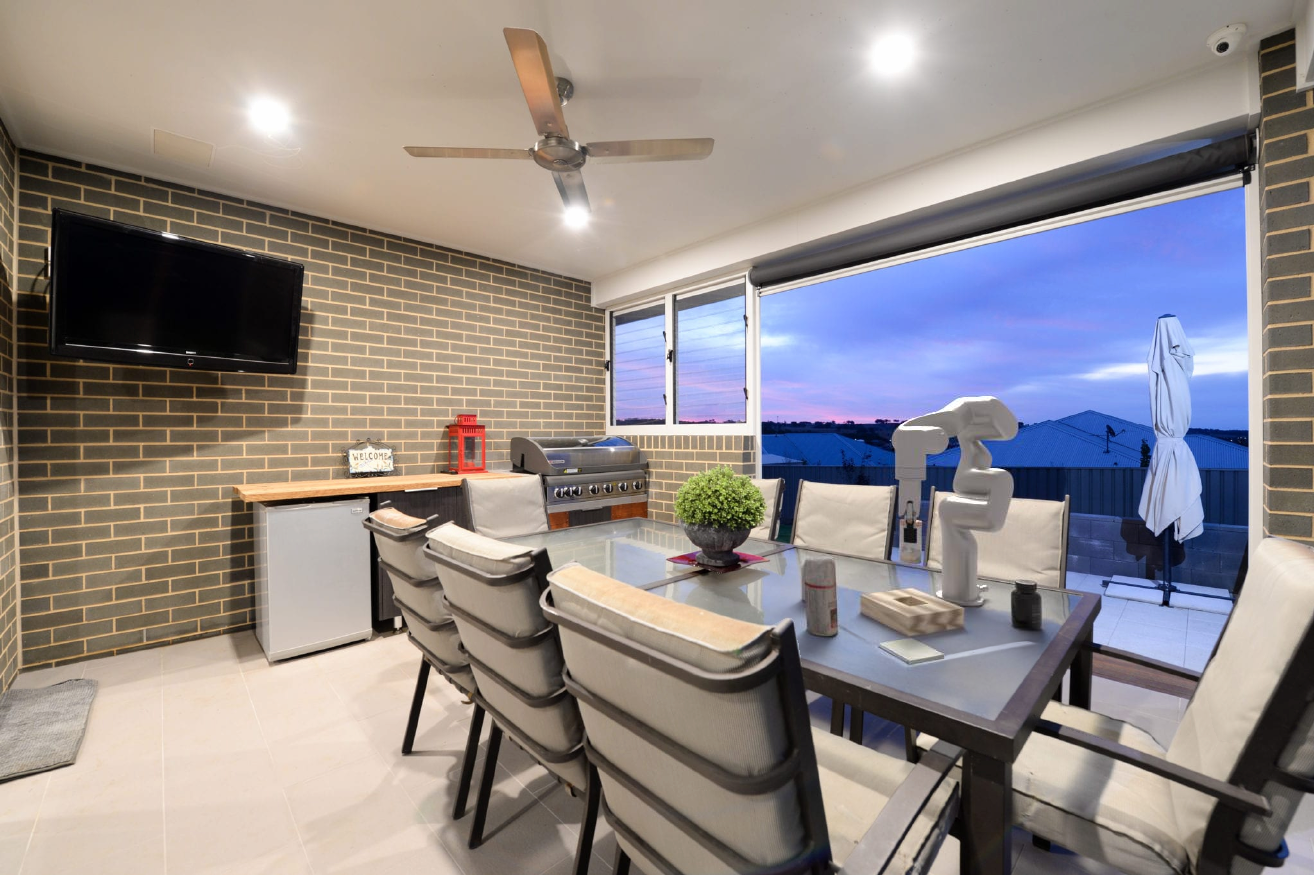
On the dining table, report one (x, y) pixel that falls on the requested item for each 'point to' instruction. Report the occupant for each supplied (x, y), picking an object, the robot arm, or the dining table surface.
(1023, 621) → the supplement bottle
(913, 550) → the copper topped silver cylinder
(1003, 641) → the dining table surface
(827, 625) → the spray can
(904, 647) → the pad
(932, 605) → the housing
